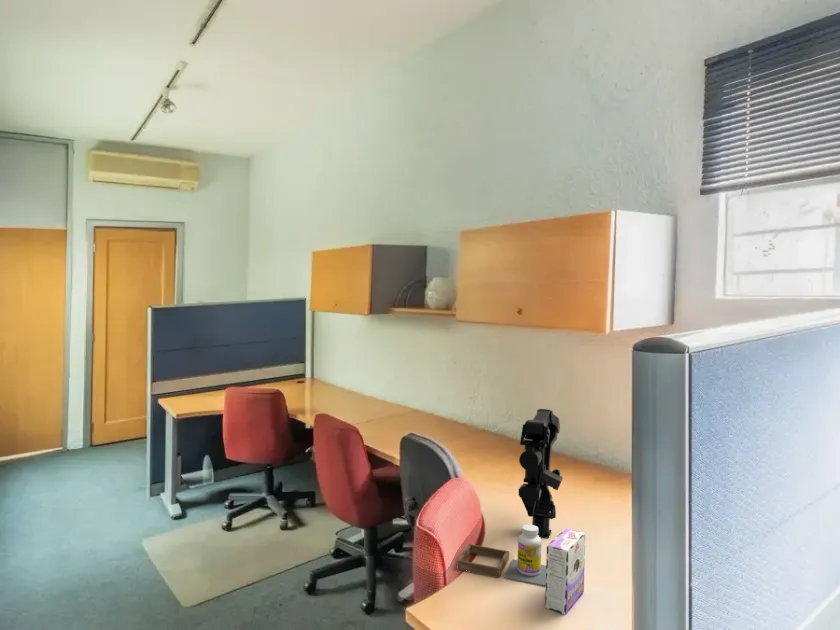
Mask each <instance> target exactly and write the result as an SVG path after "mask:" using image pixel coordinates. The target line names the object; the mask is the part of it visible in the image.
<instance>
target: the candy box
mask: <svg viewBox="0 0 840 630" xmlns="http://www.w3.org/2000/svg"><path fill="white" fill-rule="evenodd" d="M585 551H586V533H585V532H581V531H577V530H573V529H570V528H564V529H562V531H561V532H560V533H559V534H557V536H556V537H555V538H554V539H553V540H551V541H550V542H549V543H548V544H546V558H545V559H546V563H545V565H546V587H545V594H544V595H545V596H544V598H545V599H544V601H545V602H544V607H545V609H548V610H551V611H554V612H556V613H559V614H560V615H561V614H562V615H564V616H565V615H568V613H569V611H570V610H571V609H572V608H573V606H574V605H575V604H576V603H577V602H578V600H579V599H580V597H581V596H582V595H583V593H585V565H586V564H585V562H586V559H585V553H586V552H585Z"/></svg>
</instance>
